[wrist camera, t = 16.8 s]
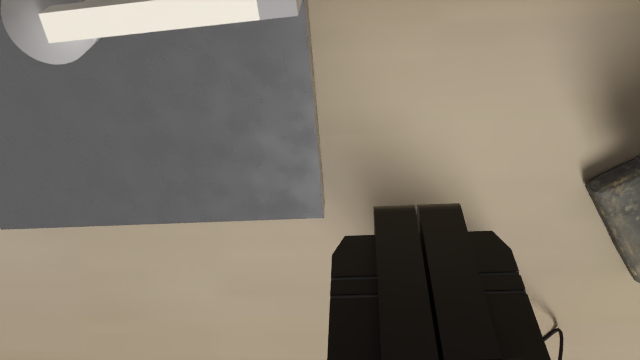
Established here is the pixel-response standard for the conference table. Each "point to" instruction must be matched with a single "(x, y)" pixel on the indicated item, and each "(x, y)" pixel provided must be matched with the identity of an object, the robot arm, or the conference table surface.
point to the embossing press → (621, 210)
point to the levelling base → (163, 129)
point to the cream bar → (119, 20)
